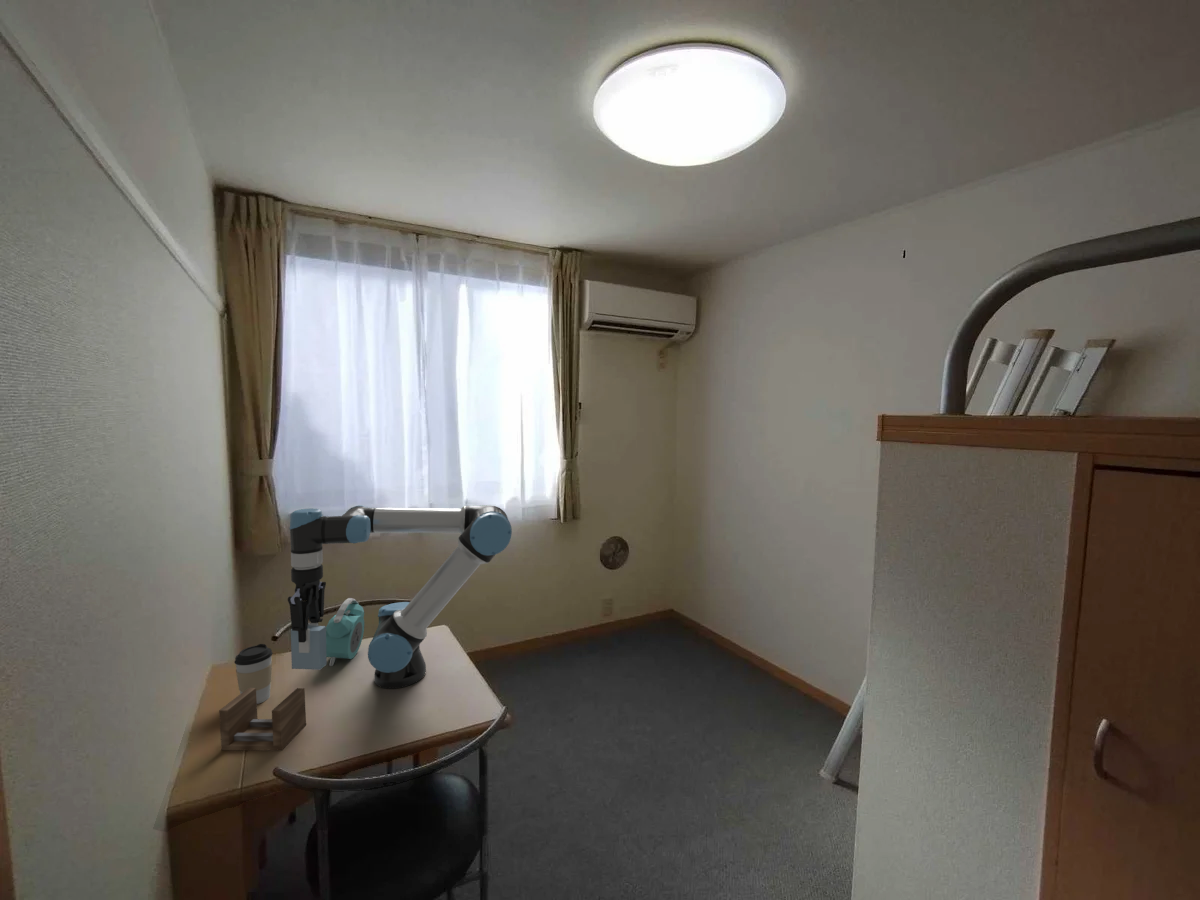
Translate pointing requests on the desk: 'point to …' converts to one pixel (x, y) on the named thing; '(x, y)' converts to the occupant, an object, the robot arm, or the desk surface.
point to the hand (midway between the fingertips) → (308, 648)
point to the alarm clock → (345, 631)
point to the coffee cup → (255, 670)
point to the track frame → (261, 722)
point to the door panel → (317, 650)
